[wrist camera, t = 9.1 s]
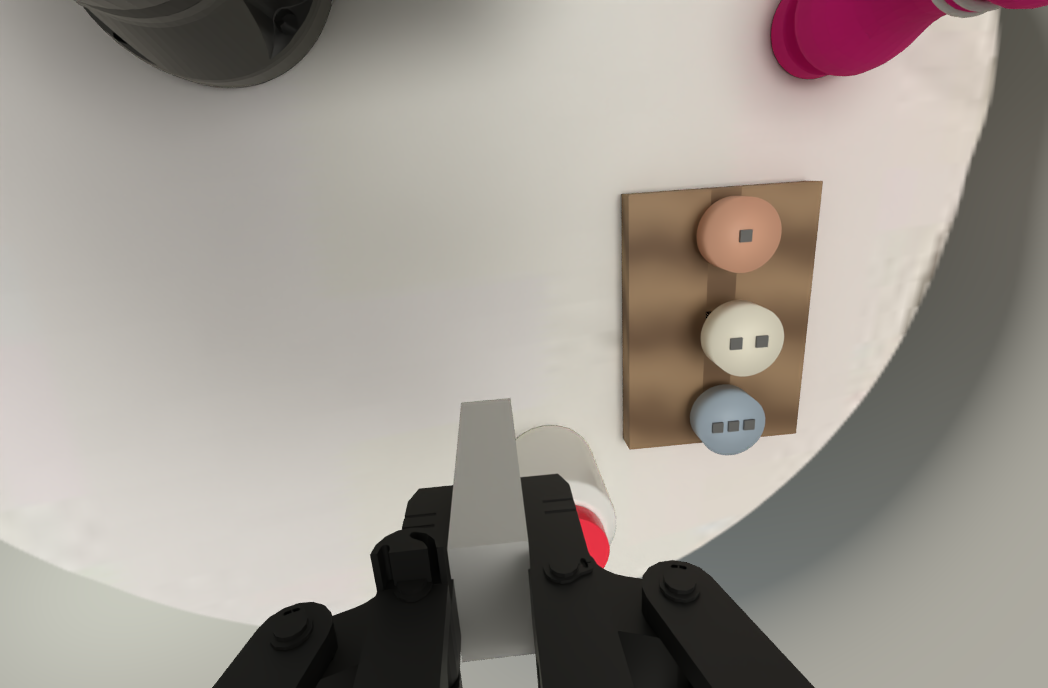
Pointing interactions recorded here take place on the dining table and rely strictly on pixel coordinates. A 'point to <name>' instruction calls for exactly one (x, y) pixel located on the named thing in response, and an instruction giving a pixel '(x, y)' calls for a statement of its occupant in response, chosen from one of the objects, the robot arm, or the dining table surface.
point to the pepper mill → (861, 30)
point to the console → (707, 308)
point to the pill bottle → (572, 480)
